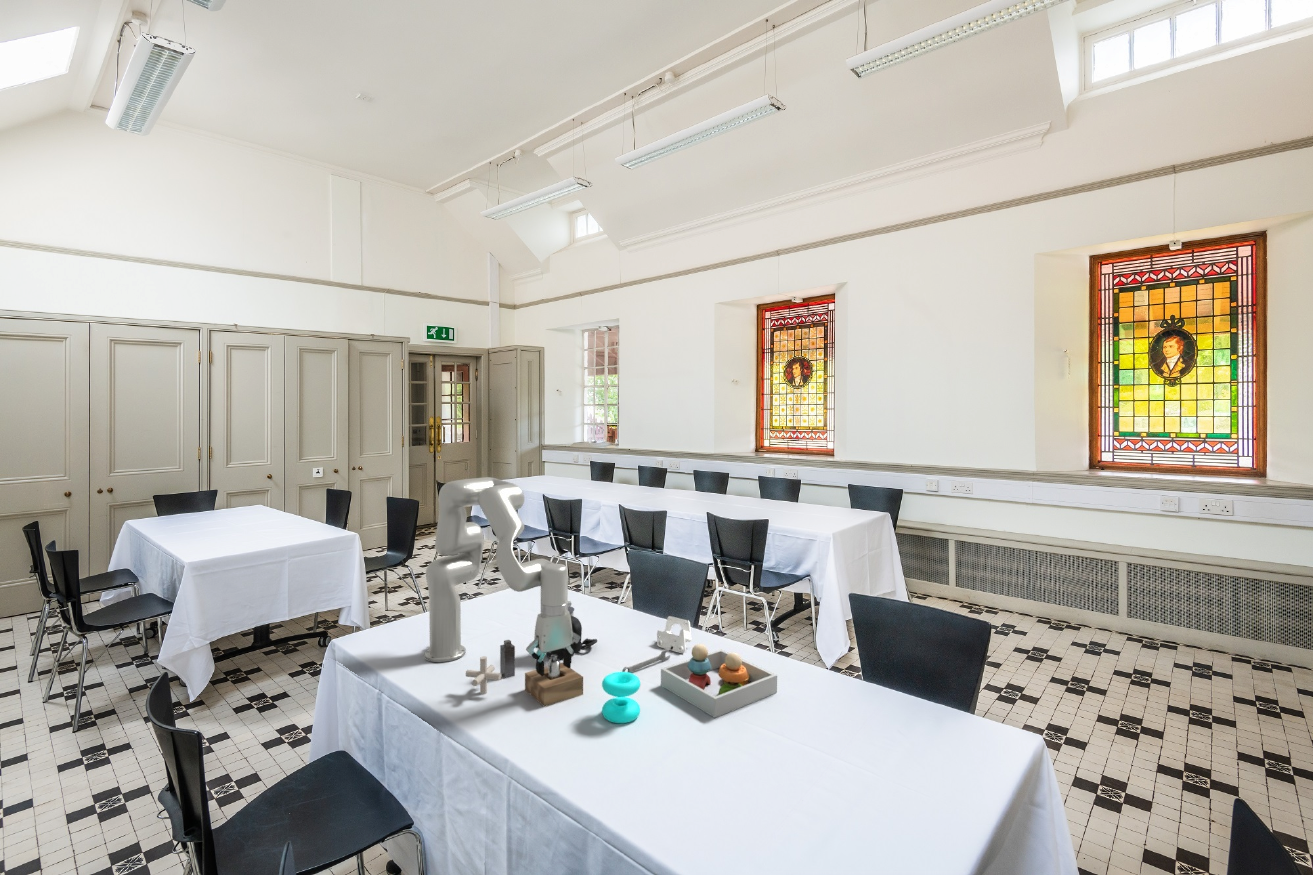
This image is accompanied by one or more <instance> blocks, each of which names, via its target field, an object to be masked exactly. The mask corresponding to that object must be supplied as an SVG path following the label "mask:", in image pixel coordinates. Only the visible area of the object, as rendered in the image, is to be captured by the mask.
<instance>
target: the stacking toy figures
mask: <svg viewBox="0 0 1313 875" xmlns="http://www.w3.org/2000/svg"><path fill="white" fill-rule="evenodd" d="M729 653H730V654H728V655H727V656H726V658H725V664H723V665H721V667H719V668H718V677H719V678H720V679H721V680H723V684H721V686H720V688H719V689H718V694H717V696H718V695H721V694H723V693H726V692H729V691H731V690H734V689H737V688H739V687H742V686H744V685H747V684H749V681H748V680H749V675H748V674H747V671H746V668H745V667H744V666H743V665H741V664H742V660H741V659H742V658H741V656H740V654H738V653H736V652H729ZM708 654H709V651H708V648H707V646H705V645H704V644H702V643H697V644H695V645H693V647H692V649H691V655H692V656H691V657H690V659H689V660H690V661H689V663H688V669H689V670H690V671H691V672H692V674H691V675H690V678H688V680H687V681H688V682H690V683H692V684H694V685H696V686H697V687H699V688H701V689H703V690H705V687H706V685H711V683H712V682H711V677H710V675H709V674H707V673H709V672H710V670H711V665H710V662H709V660H708V658H707V655H708ZM711 671H712V670H711Z"/></svg>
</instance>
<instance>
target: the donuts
mask: <svg viewBox="0 0 1313 875" xmlns="http://www.w3.org/2000/svg"><path fill="white" fill-rule="evenodd" d="M601 687H602V689H603V692H605V693H606V694H607V695H609V696H612V698H610V699H608V700H607V701H605V702H604V704H603V706H602V709H601V714H602V715H603V718H604V719H606V721H609V722H611V723H615V724H626V723H630V722H633V721H635V720H636V719H637V718H638V717H639V715H640V714H641V713H640V712H641V706H640V705H639V703H638V701H636V700H635V699H633V698H631V697H629V696H632V695H634V694H635V693H637V692H638V691H639V689H640V688H641V679H640V678H639V677H638V675H636V674H634V673H632V672H631V673H629V672H628V671H625V672H622V671H615V672H612V673H609V674H608V675H606V676H605V677H604V678H603V680H602V683H601Z"/></svg>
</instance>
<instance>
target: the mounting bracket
mask: <svg viewBox="0 0 1313 875" xmlns="http://www.w3.org/2000/svg"><path fill="white" fill-rule="evenodd" d="M675 625H679V626H680V628H681V629H680V631H679V635H676V634H674V632H672V628H673V626H675ZM691 629H692V628H691V622H690V620H689V619H684V618H680V617H675V616H671V615H669V616H668V617H667V619H666V623H665V627H664V630H663V631H662V630H657V632H656V639H657V642H656V644H657V646H658V648H661V649H663V650H665V649H669V651H672V652H676V653H678V654H679V653H680V654H685V653H686V650H687V646H686V643H687V642H688V643H690V642H692V631H691Z"/></svg>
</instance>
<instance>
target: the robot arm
mask: <svg viewBox="0 0 1313 875" xmlns="http://www.w3.org/2000/svg"><path fill="white" fill-rule="evenodd" d="M438 493H439V494H438V511H439V512H438V518H437V525H436V534H435V541H434V542H435V543H434V548H435V550H436V553H437V554H438V555H440V556H442V557H441V558H438V559H435V560H433V561H432V562H430V563H429V564H428V565H427V567H426V569H425V580H426V584H427V589H428V601H429V603H428V604H429V605H428V606H429V608H428V609H429V611H428V612H429V648H428V649H426V650H425V652H424V659H425V660H427V661H429V662H433V663H444V662H445V663H446V662H451V661H455V660H458V659H460V658H462V657H464V655H465V654H466V652H467V649H466V647H465V646H464V645H462V643H461V638H462V637H461V634H462V633H461V628H462V627H461V625H462V624H461V623H462V621H461V620H462V618H461V616H462V615H461V614H462V613H461V611H462V610H461V597H460V595H459V593H458V592H457V590H456V589H455V586H458V585H461V584H464V583H469V582H471V581H473V580H475V579H476V578H477V577H478V575H479V572H480V569H481V564H482V558H483V557H482V556H483V550H484V544H485V542H484V541H485V536H484V532H483V529H482V527H481V526H480V525H479V524H478V523H476V522H473V521H469V522H468V521H467V519H468V518H467V517H468V514H467V510H466V507H473V506H479V507H480V509H481V511H482V513H483V515H484V516H485V518H486V520H487V522H488V525H490V527H491V529H492V531H493V532H494V535H495V536H496V538H497V545H496V548H495V549H496V552H495V554H496V555H495V558H496V559H495V560H496V565H497V569H498V570H499V573H500V575H501V576H502V578H503V579H504V581H505V583H506V585H507V586H508V587H509V588H510V589H511V590H512V591H514V592H519V593H520V592H524V591H528V590H531V589H534V588H537V587H538V588H539V587H540V613H538V614H537V616H536V620H535V626H534V627H535V628H534V639H533V641H531V643H530V644H529V645H528V646H527V647H526V648H525V650H526V651H527V653H528V654H529V656H530V657H532V658H533V659H534V660H535V670H536V671H537V673H538V674H540V675H541V676H544V667H545V661H544V657H545V656H546V653H547V652H550V651H554V650H558V649H562V648H564V649H565V651H564V652H563V659H562V660H563V661H562V663H563V665H564V666H566V667H567V668H571V666H572V665H571V664H572V656H571V655H572V653H573V650H574V649H575V647H576V646H577V643H578V642H579V640H580V638H581V639H582V636H581V637H580V636H579V635H577V634H576V633H574V632H572V623H571V617H570V613H569V611H568V607H569V606H571V607H572V601H571V600H570V601H569V599H568V597H569V596H568V594H569V588H568V587H569V581H568V580H569V578H568V577H569V575H568V574H569V572H568V571H569V570H568V567H567V566H566V565H565V564H563V563H555V562H552V561H550V560H548V559H545V558H536V559H533V560H532V559H531V560H529V561H525V562H522V563H520V562H519V561H518V559H517V557H516V556H515V555H516V554H515V553H514V548H513V544H514V540H516V539H517V538H518V537H519V536H521V534H522V533H523V531H524V530H525V523H524V522H523V521H522V518H521V517H520V515H519V513H518V512H517V510H520V509H521V508H522V507H523V506H524V503H525V495H524V492H523V490H522V489H521V487H519V485H517V484H516V483H513V482H510V481H506V480H503V479H500V478H495V477H490V476H487V477H486V476H485V477H476V478H465V479H457V480H451V481H449V482H446V483H445V484H443V485H442V487H441V488H440V490H439V492H438ZM443 556H444V557H443ZM572 637H573V641H572ZM535 649H537V651H536V652H535ZM571 669H572V668H571Z"/></svg>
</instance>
